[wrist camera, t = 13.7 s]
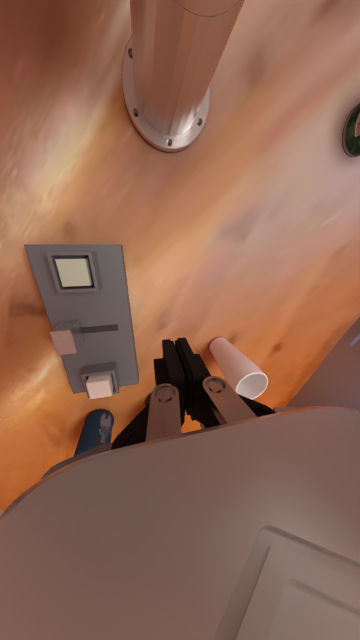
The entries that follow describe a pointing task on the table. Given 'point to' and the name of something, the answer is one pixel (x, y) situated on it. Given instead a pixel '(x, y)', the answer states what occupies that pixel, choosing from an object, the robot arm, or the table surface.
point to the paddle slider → (67, 337)
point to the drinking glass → (238, 369)
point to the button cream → (100, 385)
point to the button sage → (75, 271)
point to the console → (90, 312)
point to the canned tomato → (352, 133)
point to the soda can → (95, 431)
